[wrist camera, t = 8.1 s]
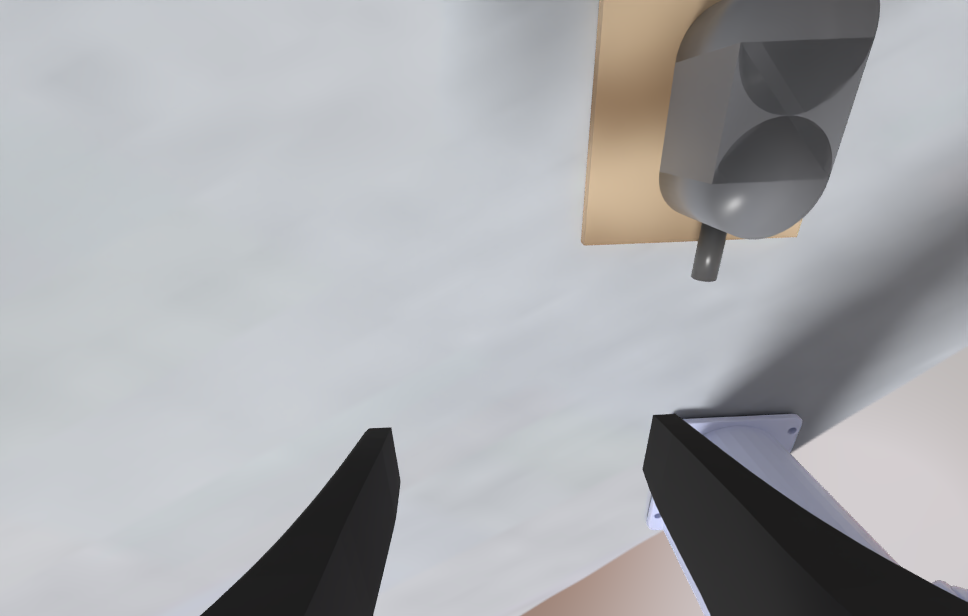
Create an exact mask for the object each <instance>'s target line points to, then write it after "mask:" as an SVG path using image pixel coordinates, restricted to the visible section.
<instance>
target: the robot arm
mask: <svg viewBox="0 0 968 616" xmlns="http://www.w3.org/2000/svg"><path fill="white" fill-rule="evenodd" d="M802 422H803V421H802V419H801V418H800V417H799V416H798V415H796V414H779V415H758V416H737V417H716V418H695V419H681V418H680V417H679V416H677V415H676V414H665V415H653V419H652V424H651V429H650V434H649V439H648V444H647V449H646V455H645V460H644V465H643V472H644V475H645V478H646V480H647V483H648V486H649V489H650V492H651V494H652V498H651V503H650V507H649V512H648V517H647V521H646V522H647V525H648V527H649V529H651V530H664V532H665V534H666V536H667V539H668V541H669V543H670V545H671V547H672V549H673V551H674V553H675V555H676V557H677V559H678V561H679V563H680V566H681V568H682V569H683V572H684V574H685V576H686V578H687V580H688V582H689V584H690V586H691V589H692V591H693V593H694V595H695V597H696V599H697V601H698V603H699V605H700V607H701V609H702V612H703V614H704V616H968V590H967V589H964V588H961V587H957V586H950V585H949V584H947V583H946V582H944V581H941V580H937V581H935V582H933V583H930V582H928V581H926V580H924V579H922V578H921V577H919V576H917V575H915V574H913V573H912V572H910V571H908V570H906V569H904V568H903V567H901V566H900V565H899V564H898V563H897V562H896V561H895V560H894V559H893V558H892V557H891V556H890V555H889V554H888V553H887V552H886V551H885V550H884V549H883V548H882V547H881V546H880V545H879V544H878V543H877V542H876V541H875V540H874V539H873V538H872V537H871V536H870V535H869V534H868V533H867V531H866V530H865V529H864V528H863V527H862V526H860V524H859V523H858V522H857V521H856V520H855V519H854V518H853V517H852V516H851V515H850V514H849V513H848V512H847V511H846V510H845V509H844V508H843V507H842V506H841V505H840V504H839V503H838V502H837V501H836V500H835V499H834V498H833V497H832V496H831V495H830V494H829V493H828V492H827V491H826V490H825V489H824V488H823V487H822V486H821V485H820V484H819V483H818V481H816V480H815V479H814V477H813V476H811V474H810V473H809V472H808V471H807V470H806V469H805V468H804V467H803V466H802V465H801V464H800V463H799V462H798V461H797V460H796V459H795V458H794V457H793V456H792V455H791V454H790V453H791V450H792V448H793V445H794V443H795V440H796V438H797V435H798V433H799V431H800V428H801V426H802ZM399 489H400V476H399V470H398V464H397V459H396V453H395V447H394V441H393V435H392V429H391V428H370V429H368V430H367V431H366V432H365V433H364V435H363V436H362V437H361V439H360V440H359V442H358V443H357V444H356V446H355V447H354V448H353V450H352V451H351V453H350V454H349V455H348V457H347V458H346V459H345V461H344V462H343V463H342V465H341V466H340V467H339V469H338V470H337V471H336V472H335V474H334V475H333V476H332V478H331V479H330V480H329V481H328V483H327V484H326V485H325V486H324V488H323V489H322V490H321V491H320V493H319V494H318V495H317V496H316V498H315V499H314V500H313V501H312V502H311V504H310V505H309V506H308V507H307V508H306V509H305V510H304V512H303V513H302V514H301V515H300V516H299V517H298V519H297V520H296V521H295V522H294V523H293V524H292V525H291V527H290V528H289V529H288V530H287V531H286V532H285V533H284V534H283V535H282V536H281V538H280V539H279V540H278V541H277V542H276V543H275V544H274V545H273V546H272V547H271V548H270V549H269V550H268V551H267V552H266V553H265V554H264V555H263V556H262V557H261V558H260V559H259V561H258V562H257V563H256V564H255V565H254V566H253V567H252V568H251V569H250V570H249V571H248V572H247V573H245V574H244V575H243V576H242V577H241V578H240V579H239V580H238V581H237V582H236V583H235V584H234V585H233V586H232V587H231V588H230V589H229V590H228V591H226V592H225V593H224V594H223V595H222V596H221V597H220V598H219V599H218V600H217V601H216V602H215V603H214V604H213V605H211V606H210V607H209V608H208V609H207V610H206V611H205V612H204V613H203V614H201V615H200V616H373V613H374V609H375V605H376V601H377V597H378V592H379V588H380V584H381V580H382V576H383V572H384V567H385V563H386V559H387V555H388V551H389V546H390V542H391V538H392V534H393V529H394V525H395V520H396V513H397V506H398V498H399Z"/></svg>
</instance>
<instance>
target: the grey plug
mask: <svg viewBox="0 0 968 616" xmlns="http://www.w3.org/2000/svg"><path fill="white" fill-rule="evenodd" d="M879 13H880V0H721V1H719V2H717V3H716V4H714V5H712V6H710V7H709V8H708V9H706V10H705V11H704V12H703V13H702V14H701V15H700V16H699V17H698V18H697V19H696V20H695V21H694V22H693V23H692V25H691V26H690V28H689V29H688V30H687V32H686V34H685V36H684V38H683V39H682V42H681V44H680V47H679V50H678V53H677V57H676V62H675V68H674V75H673V82H672V89H671V96H670V102H669V109H668V116H667V123H666V130H665V137H664V144H663V150H662V157H661V164H660V171H659V186H660V191H661V194H662V196H663V198H664V200H665V202H666V203H667V204H668V205H669V206H670V207H671V208H672V209H673V210H674V211H676V212H678V213H680V214H682V215H685V216H687V217H690V218H692V219H694V220H697V221H699V222H702V225H701V230H700V235H699V240H698V245H697V250H696V254H695V259H694V264H693V269H692V274H691V277H692V278H693V279H696V280H699V281H705V282H711V281H715V280H717V275H718V271H719V267H720V262H721V258H722V254H723V249H724V245H725V241H726V236H727V233H728V234H731V235H733V236H736V237H739V238H743V239H763V238H767V237H771V236H774V235H777V234H779V233H781V232H783V231H785V230H787V229H789V228H790V227H792V226H793V225H795V224H796V223H797V222H799V221H800V220H801V219H802V218H803V217H804V216H806V214H807V213H808V212H809V211H810V210H811V209H812V208H813V207H814V205H815V204H816V203H817V201H818V200H819V198H820V197H821V195H822V193H823V191H824V189H825V187H826V185H827V182H828V180H829V177H830V174H831V170H832V167H833V164H834V161H835V158H836V155H837V152H838V149H839V146H840V143H841V140H842V137H843V133H844V130H845V127H846V124H847V121H848V118H849V115H850V112H851V109H852V106H853V103H854V100H855V96H856V93H857V90H858V87H859V84H860V81H861V78H862V75H863V72H864V69H865V66H866V62H867V59H868V56H869V53H870V50H871V47H872V44H873V41H874V38H875V34H876V31H877V27H878V21H879Z"/></svg>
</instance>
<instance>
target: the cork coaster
mask: <svg viewBox="0 0 968 616" xmlns="http://www.w3.org/2000/svg"><path fill="white" fill-rule="evenodd" d="M719 1H721V0H599V13H598V26H597V40H596V53H595V66H594V79H593V92H592V105H591V118H590V131H589V144H588V157H587V170H586V183H585V197H584V210H583V223H582V236H581V242H582V244H583V245H609V244H634V243H659V242H684V241H698V240H699V235H700V230H701V225H702V222H699V221H697V220H694V219H692V218H690V217H687V216H685V215H682V214H680V213H678V212H676V211H674V210H673V209H672V208H671V207H670V206H669V205H668V204H667V203H666V202H665V200H664V198H663V196H662V194H661V191H660V186H659V171H660V164H661V157H662V150H663V144H664V137H665V130H666V123H667V116H668V109H669V102H670V96H671V89H672V82H673V75H674V68H675V62H676V57H677V53H678V50H679V47H680V44H681V42H682V39H683V38H684V36H685V34H686V32H687V30H688V29H689V28H690V26H691V25H692V23H693V22H694V21H695V20H696V19H697V18H698V17H699V16H700V15H701V14H702V13H703V12H704V11H705V10H706V9H708V8H709V7H710V6H712V5H714V4H716V3H717V2H719ZM802 219H803V218H802ZM802 219H801V220H800V221H799V222H797V223H796V224H795V225H793V226H792V227H790V228H789V229H787V230H785V231H783V232H781V233H779V234H777V235H774V236H771V237H767V238H784V237H797V235H798V231H799V228H800V225H801V222H802ZM734 239H743V238H739V237H736V236H733V235H731V234H728V233H727V236H726V240H734Z"/></svg>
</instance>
